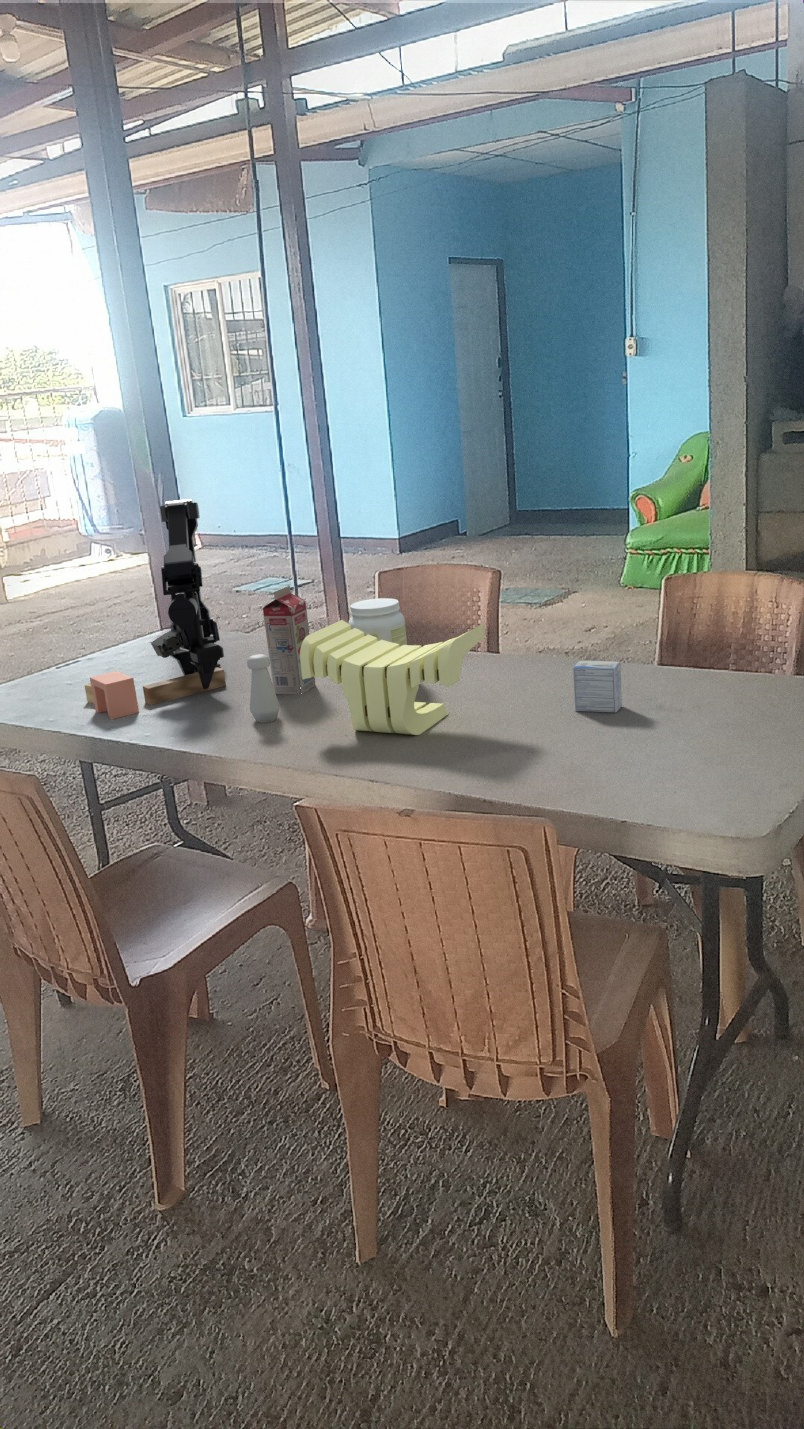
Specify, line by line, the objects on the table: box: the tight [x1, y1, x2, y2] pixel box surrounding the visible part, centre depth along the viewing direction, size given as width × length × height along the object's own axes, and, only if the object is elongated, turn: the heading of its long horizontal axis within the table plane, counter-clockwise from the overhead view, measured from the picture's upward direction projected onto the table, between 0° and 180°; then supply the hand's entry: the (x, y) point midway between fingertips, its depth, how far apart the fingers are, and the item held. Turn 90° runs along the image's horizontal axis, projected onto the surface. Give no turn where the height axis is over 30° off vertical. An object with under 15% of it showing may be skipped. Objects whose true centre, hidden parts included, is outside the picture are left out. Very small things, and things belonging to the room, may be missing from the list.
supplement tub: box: [347, 597, 408, 647], centre depth 230 cm, size 12×12×17 cm
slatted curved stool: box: [300, 619, 485, 736], centre depth 199 cm, size 30×16×18 cm, turn 63°
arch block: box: [89, 670, 140, 720], centre depth 226 cm, size 6×9×8 cm, turn 36°
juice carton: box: [262, 585, 316, 695], centre depth 228 cm, size 7×7×22 cm
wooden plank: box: [142, 667, 227, 706], centre depth 235 cm, size 18×3×4 cm, turn 127°
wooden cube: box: [84, 682, 94, 704], centre depth 237 cm, size 4×4×4 cm
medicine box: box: [572, 660, 623, 714], centre depth 198 cm, size 8×4×9 cm, turn 65°
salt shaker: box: [246, 653, 280, 724], centre depth 210 cm, size 6×6×13 cm
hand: (197, 685), depth 237 cm, fingers open, 8 cm apart
